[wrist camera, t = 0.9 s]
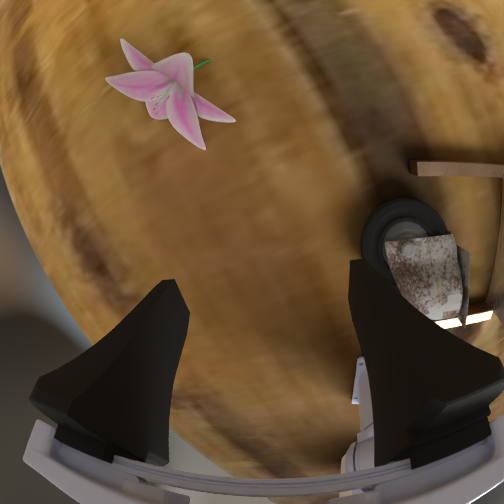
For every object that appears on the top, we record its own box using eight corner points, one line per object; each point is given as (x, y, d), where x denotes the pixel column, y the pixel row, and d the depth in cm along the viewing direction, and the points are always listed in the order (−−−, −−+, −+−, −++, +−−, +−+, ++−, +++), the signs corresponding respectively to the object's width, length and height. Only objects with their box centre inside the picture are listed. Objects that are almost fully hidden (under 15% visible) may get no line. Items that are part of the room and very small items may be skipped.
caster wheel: (356, 203, 25) (447, 193, 21) (366, 310, 27) (451, 301, 23) (354, 205, 19) (471, 193, 15) (364, 341, 21) (470, 328, 17)
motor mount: (516, 302, 22) (541, 332, 15) (401, 323, 26) (417, 367, 20) (536, 167, 15) (574, 180, 9) (409, 160, 20) (443, 168, 14)
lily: (135, 72, 23) (70, 112, 17) (199, -7, 14) (125, 1, 9) (207, 142, 28) (161, 197, 22) (290, 81, 20) (257, 122, 14)
